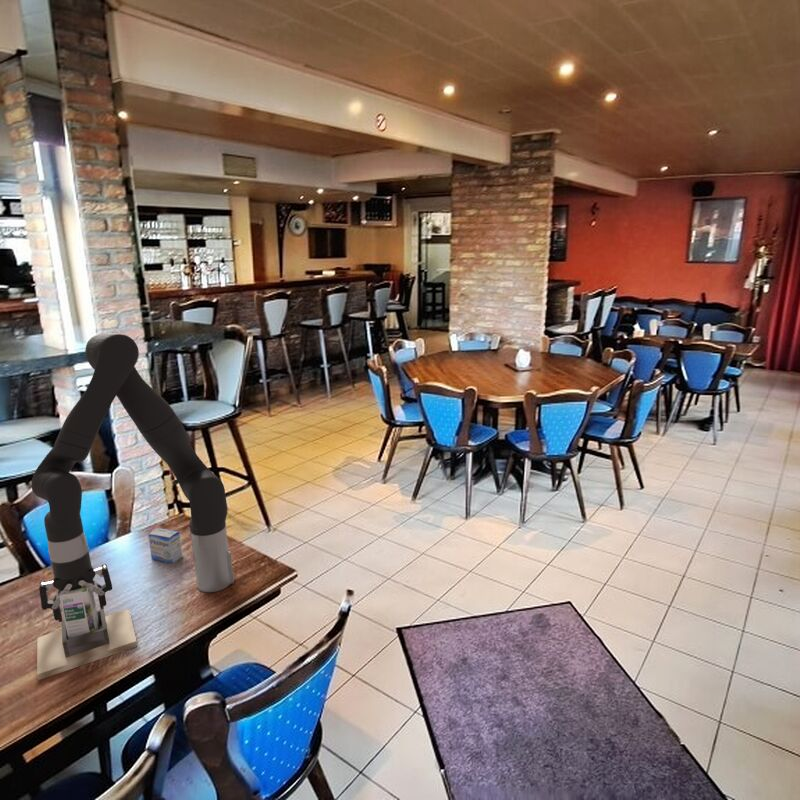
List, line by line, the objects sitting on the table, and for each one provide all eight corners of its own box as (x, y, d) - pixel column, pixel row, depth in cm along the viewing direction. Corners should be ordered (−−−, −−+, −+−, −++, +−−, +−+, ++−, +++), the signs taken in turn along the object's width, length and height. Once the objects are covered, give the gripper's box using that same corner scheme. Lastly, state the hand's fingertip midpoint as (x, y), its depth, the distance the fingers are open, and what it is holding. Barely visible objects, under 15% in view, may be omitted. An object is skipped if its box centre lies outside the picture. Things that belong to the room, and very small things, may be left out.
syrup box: (69, 650, 130) (58, 596, 126) (74, 634, 135) (63, 581, 131) (97, 644, 132) (86, 591, 128) (101, 628, 137) (91, 576, 133)
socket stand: (129, 614, 145) (126, 595, 143) (137, 646, 133) (134, 626, 132) (38, 642, 135) (34, 623, 133) (38, 680, 123) (33, 659, 122)
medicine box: (151, 559, 169) (147, 534, 167) (161, 552, 173) (157, 527, 171) (173, 563, 167) (169, 537, 164) (183, 556, 171) (179, 530, 169)
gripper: (103, 536, 134) (113, 595, 138) (32, 554, 127) (46, 615, 131) (105, 550, 127) (116, 611, 132) (31, 570, 120) (46, 633, 125)
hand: (81, 613), depth 132 cm, fingers open, 8 cm apart
